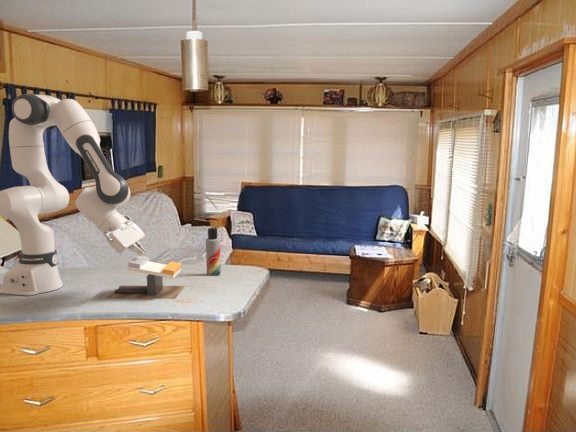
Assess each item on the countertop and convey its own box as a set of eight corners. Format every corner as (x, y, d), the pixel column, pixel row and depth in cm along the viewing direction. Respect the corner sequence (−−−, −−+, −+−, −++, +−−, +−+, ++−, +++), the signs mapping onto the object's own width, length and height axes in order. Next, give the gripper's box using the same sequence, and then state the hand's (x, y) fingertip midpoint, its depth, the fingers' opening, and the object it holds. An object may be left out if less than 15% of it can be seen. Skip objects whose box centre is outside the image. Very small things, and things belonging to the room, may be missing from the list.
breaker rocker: (127, 269, 169) (128, 262, 168) (137, 262, 179) (138, 254, 178) (173, 278, 169) (174, 271, 168) (180, 270, 179) (181, 263, 178)
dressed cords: (114, 293, 173) (114, 290, 173) (120, 289, 178) (120, 285, 178) (148, 294, 173) (148, 290, 172) (153, 289, 178) (153, 285, 178)
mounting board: (106, 302, 169) (106, 298, 169) (121, 289, 183) (121, 285, 183) (175, 302, 168) (175, 298, 168) (185, 289, 182) (185, 285, 182)
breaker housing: (147, 295, 171) (146, 276, 170) (154, 288, 179) (153, 269, 178) (156, 295, 171) (155, 276, 170) (162, 288, 179) (162, 269, 178)
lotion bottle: (218, 277, 197) (216, 228, 194) (204, 276, 198) (203, 228, 195) (222, 273, 202) (221, 226, 199) (209, 272, 204) (208, 225, 200)
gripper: (108, 225, 161) (139, 254, 162) (130, 215, 181) (157, 241, 182) (95, 239, 162) (126, 267, 163) (119, 227, 182) (146, 252, 183)
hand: (143, 253), depth 173 cm, fingers closed
